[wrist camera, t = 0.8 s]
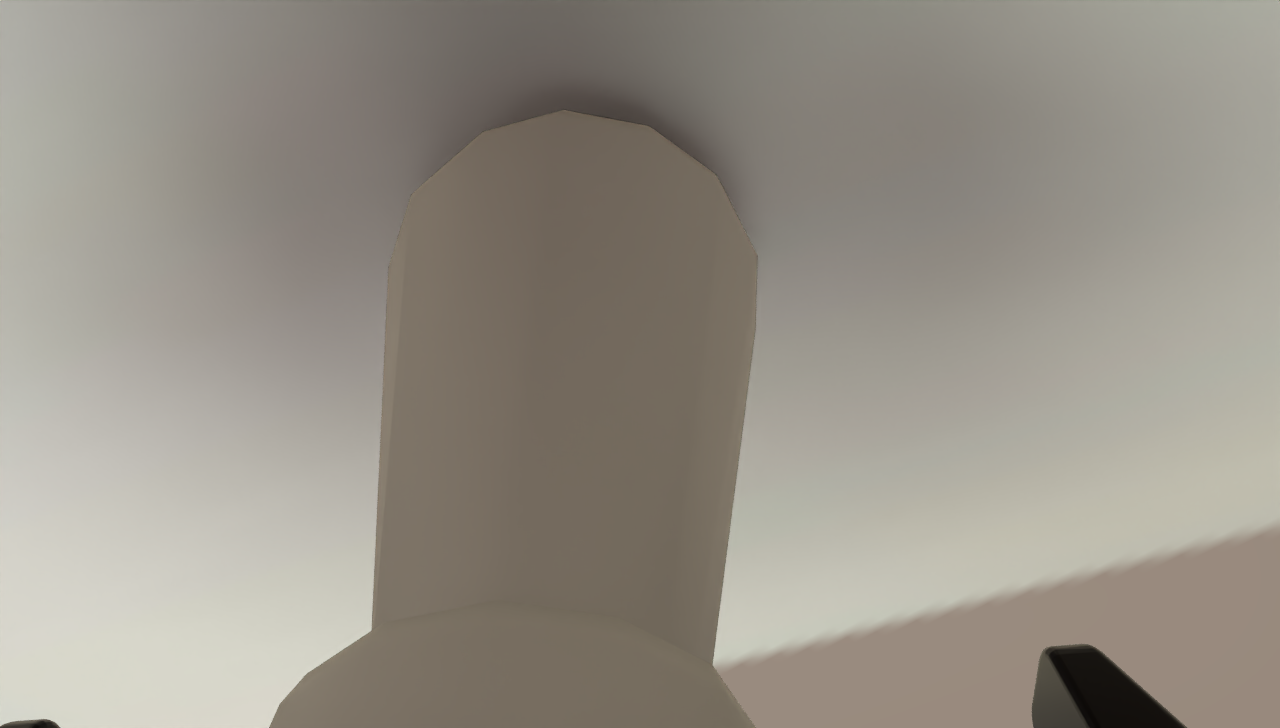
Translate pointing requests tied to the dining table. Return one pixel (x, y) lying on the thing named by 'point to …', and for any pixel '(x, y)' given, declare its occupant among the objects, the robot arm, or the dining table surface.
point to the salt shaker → (554, 442)
